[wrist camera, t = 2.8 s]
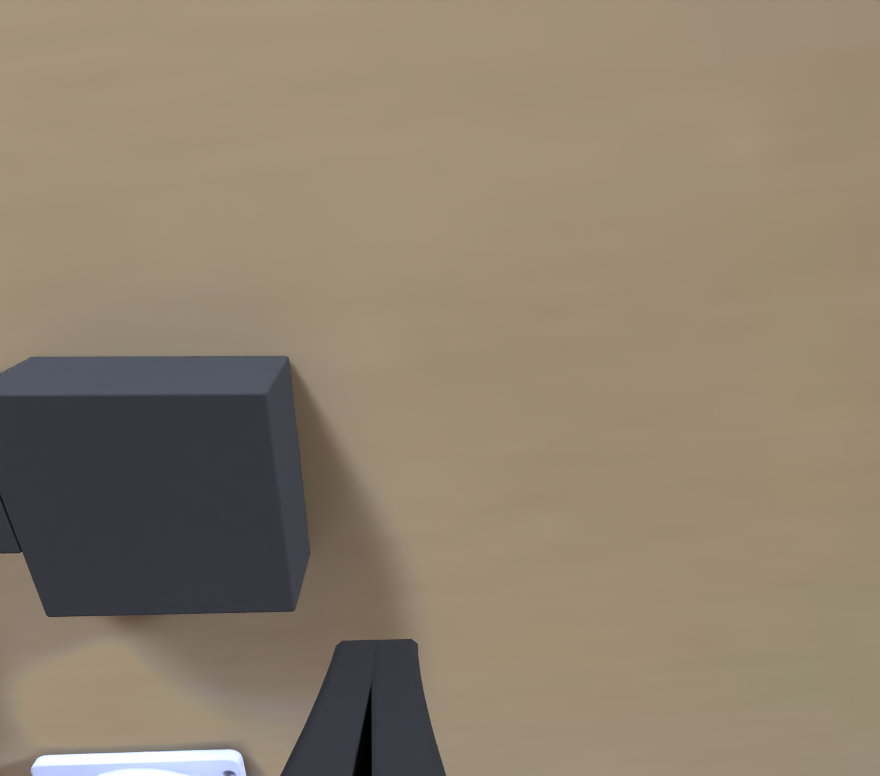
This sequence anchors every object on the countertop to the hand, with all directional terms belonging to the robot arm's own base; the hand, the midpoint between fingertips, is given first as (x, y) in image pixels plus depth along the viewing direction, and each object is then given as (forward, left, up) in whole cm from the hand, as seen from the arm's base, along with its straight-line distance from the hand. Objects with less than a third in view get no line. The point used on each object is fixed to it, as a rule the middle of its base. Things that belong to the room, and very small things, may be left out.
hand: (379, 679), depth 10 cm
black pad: (0, +6, -8) cm, 10 cm away
